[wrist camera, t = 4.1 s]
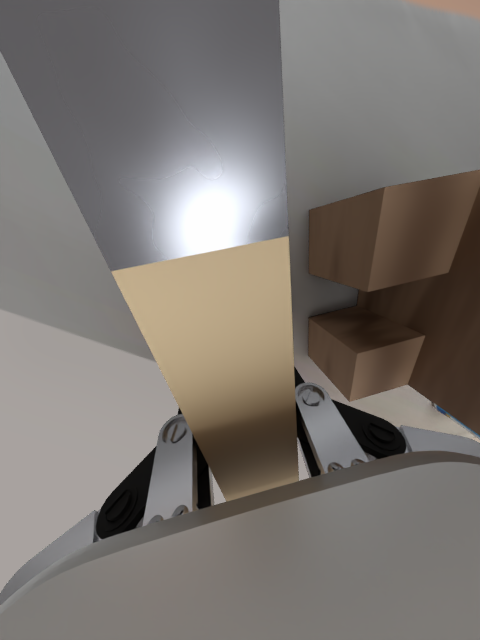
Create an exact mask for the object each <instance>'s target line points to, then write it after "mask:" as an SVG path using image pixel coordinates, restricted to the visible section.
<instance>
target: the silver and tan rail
mask: <svg viewBox="0 0 480 640" xmlns="http://www.w3.org/2000/svg"><path fill="white" fill-rule="evenodd" d="M0 51H1V53H2V55H3V57H4V59H5V61H6V63H7V65H8V67H9V69H10V71H11V73H12V75H13V77H14V79H15V81H16V83H17V85H18V87H19V89H20V91H21V93H22V95H23V97H24V99H25V101H26V103H27V105H28V107H29V109H30V111H31V113H32V115H33V117H34V119H35V121H36V123H37V125H38V127H39V129H40V131H41V133H42V135H43V137H44V139H45V141H46V143H47V145H48V147H49V149H50V151H51V153H52V155H53V157H54V159H55V161H56V163H57V165H58V167H59V169H60V171H61V173H62V175H63V177H64V179H65V181H66V183H67V185H68V187H69V189H70V191H71V192H72V194H73V196H74V198H75V200H76V202H77V204H78V206H79V208H80V210H81V212H82V214H83V216H84V218H85V220H86V222H87V224H88V226H89V228H90V230H91V232H92V234H93V236H94V238H95V240H96V242H97V244H98V246H99V248H100V250H101V252H102V254H103V256H104V258H105V260H106V262H107V264H108V266H109V268H110V270H111V272H112V274H113V276H114V278H115V280H116V282H117V284H118V286H119V288H120V290H121V292H122V294H123V296H124V298H125V300H126V302H127V304H128V306H129V308H130V310H131V312H132V314H133V316H134V318H135V320H136V322H137V324H138V326H139V328H140V330H141V332H142V334H143V336H144V338H145V340H146V342H147V344H148V346H149V348H150V350H151V352H152V354H153V356H154V358H155V360H156V362H157V364H158V365H159V368H160V370H161V372H162V374H163V376H164V378H165V380H166V382H167V384H168V386H169V388H170V390H171V392H172V394H173V396H174V398H175V400H176V402H177V404H178V406H179V408H180V410H181V412H182V414H183V416H184V418H185V420H186V422H187V424H188V426H189V428H190V430H191V432H192V434H193V436H194V438H195V440H196V442H197V444H198V446H199V448H200V450H201V452H202V454H203V456H204V458H205V460H206V462H207V464H208V466H209V468H210V470H211V472H212V474H213V475H214V478H215V480H216V481H217V483H218V485H219V487H220V489H221V491H222V493H223V495H224V497H225V499H226V501H231V500H234V499H238V498H241V497H245V496H248V495H252V494H255V493H259V492H262V491H266V490H269V489H273V488H276V487H280V486H283V485H287V484H290V483H294V482H297V481H299V472H298V451H297V450H298V448H297V424H296V400H295V376H294V352H293V327H292V303H291V279H290V255H289V231H288V207H287V183H286V159H285V135H284V110H283V86H282V62H281V38H280V14H279V0H0Z"/></svg>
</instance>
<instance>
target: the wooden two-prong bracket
mask: <svg viewBox="0 0 480 640" xmlns="http://www.w3.org/2000/svg"><path fill="white" fill-rule="evenodd" d="M309 274H312V275H315V276H318V277H321V278H325V279H328V280H331V281H334V282H337V283H340V284H344V285H347V286H350V287H353V288H356V289H359V293H358V300H357V306H353V307H349V308H345V309H341V310H337V311H333V312H329V313H325V314H321V315H317V316H313V317H309V336H308V356H309V357H310V358H311V359H312V360H313V361H314V363H315V364H316V365H317V366H318V367H319V368H320V369H321V370H322V372H323V373H324V374H325V375H326V376H327V377H328V378H329V379H330V381H331V382H332V383H333V384H334V385H335V386H336V387H337V388H338V390H339V391H340V392H341V393H342V394H343V395H344V396H345V397H346V398H347V400H348V401H349V402H350V401H354V400H357V399H360V398H364V397H367V396H370V395H374V394H377V393H380V392H384V391H387V390H390V389H394V388H397V387H401V386H404V385H407V384H408V385H409V386H411V387H412V388H413V389H415V390H416V391H418V392H419V393H420V394H422V395H423V396H425V397H426V398H427V399H429V400H430V401H432V402H433V403H435V404H436V405H437V406H439V407H440V408H442V409H443V410H444V411H446V412H447V413H449V414H450V415H451V416H453V417H454V418H456V419H457V420H458V421H460V422H461V423H463V424H464V425H465V426H467V427H468V428H470V429H471V430H472V431H474V432H475V433H477V434H478V435H480V170H476V171H470V172H465V173H459V174H454V175H449V176H443V177H438V178H432V179H427V180H421V181H416V182H411V183H405V184H400V185H394V186H389V187H384V188H381V189H377V190H374V191H371V192H367V193H364V194H361V195H357V196H354V197H351V198H347V199H344V200H341V201H337V202H334V203H331V204H327V205H324V206H321V207H317V208H314V209H311V210H309Z"/></svg>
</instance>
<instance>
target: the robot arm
mask: <svg viewBox="0 0 480 640" xmlns="http://www.w3.org/2000/svg"><path fill="white" fill-rule="evenodd" d="M294 376H295V400H296V424H297V441H298V444H299V448H300V451H301V454H302V457H303V460H304V463H305V466H306V469H307V472H308V475H309V478H308V479H305V480H301V481H297V482H294V483H290V484H287V485H283V486H280V487H276V488H273V489H269V490H266V491H262V492H259V493H255V494H252V495H248V496H245V497H241V498H238V499H234V500H231V501H227V502H224V503H220V504H217V505H214V495H213V483H212V472H211V470H210V468H209V466H208V464H207V462H206V460H205V458H204V456H203V454H202V452H201V450H200V448H199V446H198V444H197V442H196V440H195V438H194V436H193V434H192V432H191V430H190V428H189V426H188V424H187V422H186V420H185V418H184V416H183V414H182V412H181V410H180V408H179V411H178V415H176V416H174V417H172V418H171V419H169V420H168V421H167V422H166V423H165V424H164V425H163V427H162V428H161V430H160V433H159V436H158V442H157V446H156V447H155V448H154V449H153V450H152V451H151V452H150V453H149V454H148V455H147V457H145V458H144V460H143V461H142V462H141V463H140V464H139V465H138V466H137V467H136V468H135V469H134V470H133V471H132V472H131V473H130V474H129V475H128V477H126V478H125V479H124V480H123V481H122V482H121V483H120V485H119V486H118V487H117V488H116V489H115V490H114V491H113V492H112V493H111V495H110V496H109V497H108V498H107V499H106V501H105V503H104V504H103V506H102V508H101V509H100V510H99V511H98V512H97V511H95V510H94V511H93V512H92V513H90V514H89V515H87V516H86V517H85V518H84V519H82V520H81V521H80V522H78V523H77V524H76V525H75V526H74V527H72V528H71V529H69V530H68V531H67V532H65V533H64V534H63V535H62V536H60V537H59V538H58V539H56V540H55V541H54V542H52V543H51V544H50V545H49V546H47V547H46V548H45V549H43V550H42V551H41V552H39V553H38V554H37V555H36V556H34V557H33V558H32V559H30V560H29V561H28V562H27V563H26V564H25V565H23V566H22V567H21V568H20V569H19V570H18V571H17V572H16V573H15V574H14V576H13V577H12V578H11V579H10V580H9V582H8V583H7V584H6V585H5V587H4V589H3V590H2V592H1V593H0V640H480V443H478V442H477V441H475V440H472V439H469V438H466V437H462V436H457V435H452V434H446V433H441V432H435V431H430V430H424V429H419V428H413V427H408V426H403V425H401V426H400V428H399V427H395V426H394V425H392V424H391V423H389V422H388V421H386V420H384V419H382V418H379V417H377V416H374V415H371V414H369V413H366V412H363V411H361V410H358V409H355V408H353V407H350V406H347V405H345V404H342V403H340V402H337V401H334V400H332V399H331V398H330V397H329V395H328V394H327V392H326V391H325V390H324V389H323V388H322V387H321V386H319V385H317V384H314V383H305V382H304V380H303V379H302V377H301V376H300V374H299V373H298V371H297V370H296V368H295V367H294Z"/></svg>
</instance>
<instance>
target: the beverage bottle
mask: <svg viewBox="0 0 480 640" xmlns="http://www.w3.org/2000/svg"><path fill="white" fill-rule="evenodd" d="M434 407H435V408H436V409H437V410H438V411H440V412H441V413H443V414H444V415H446V416H447V417H449V418H450V419H452V420H453V421H455V422H456V423H457V424H459V425H460V426H462V427H463V428H464V429H466V430H467V431H468V432H470V433H471V434H473V435H474V436H475V437H477V438H478V439H480V435H478V434H477V433H475V432H474V431H472V430H471V429H470V428H468V427H467V426H465V425H464V424H463V423H461V422H460V421H458V420H457V419H456V418H454V417H453V416H451V415H450V414H449V413H447V412H446V411H444V410H443V409H442V408H440V407H439V406H437V405H436V404H435V403H434Z"/></svg>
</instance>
